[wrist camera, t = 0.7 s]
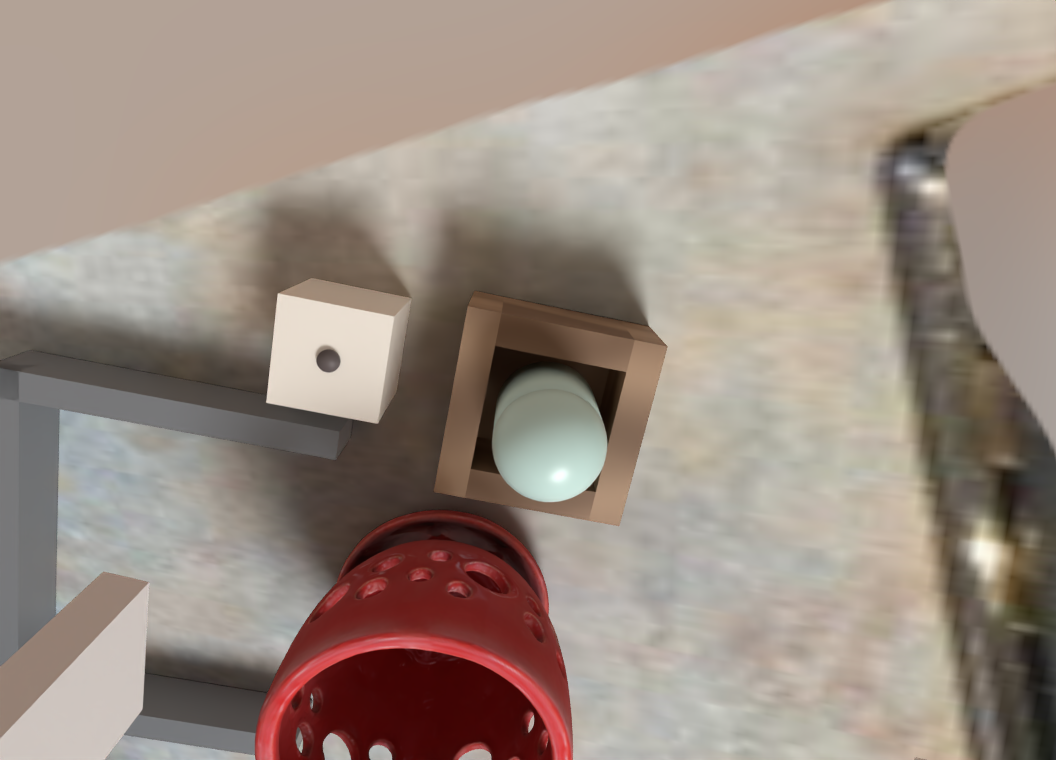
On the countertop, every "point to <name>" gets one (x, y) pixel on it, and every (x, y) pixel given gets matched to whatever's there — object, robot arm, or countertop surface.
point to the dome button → (548, 432)
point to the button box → (557, 336)
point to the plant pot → (426, 652)
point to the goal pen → (32, 498)
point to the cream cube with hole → (337, 349)
